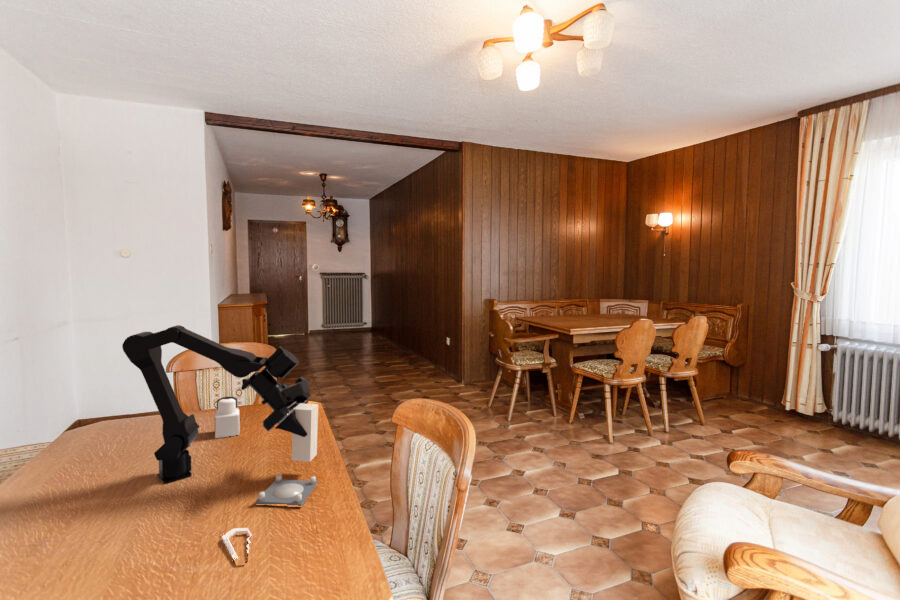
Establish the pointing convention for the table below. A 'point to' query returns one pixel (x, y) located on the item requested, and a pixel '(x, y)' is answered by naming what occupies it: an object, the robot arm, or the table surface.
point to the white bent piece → (231, 533)
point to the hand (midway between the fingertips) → (309, 432)
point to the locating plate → (287, 491)
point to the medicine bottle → (226, 417)
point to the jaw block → (306, 445)
